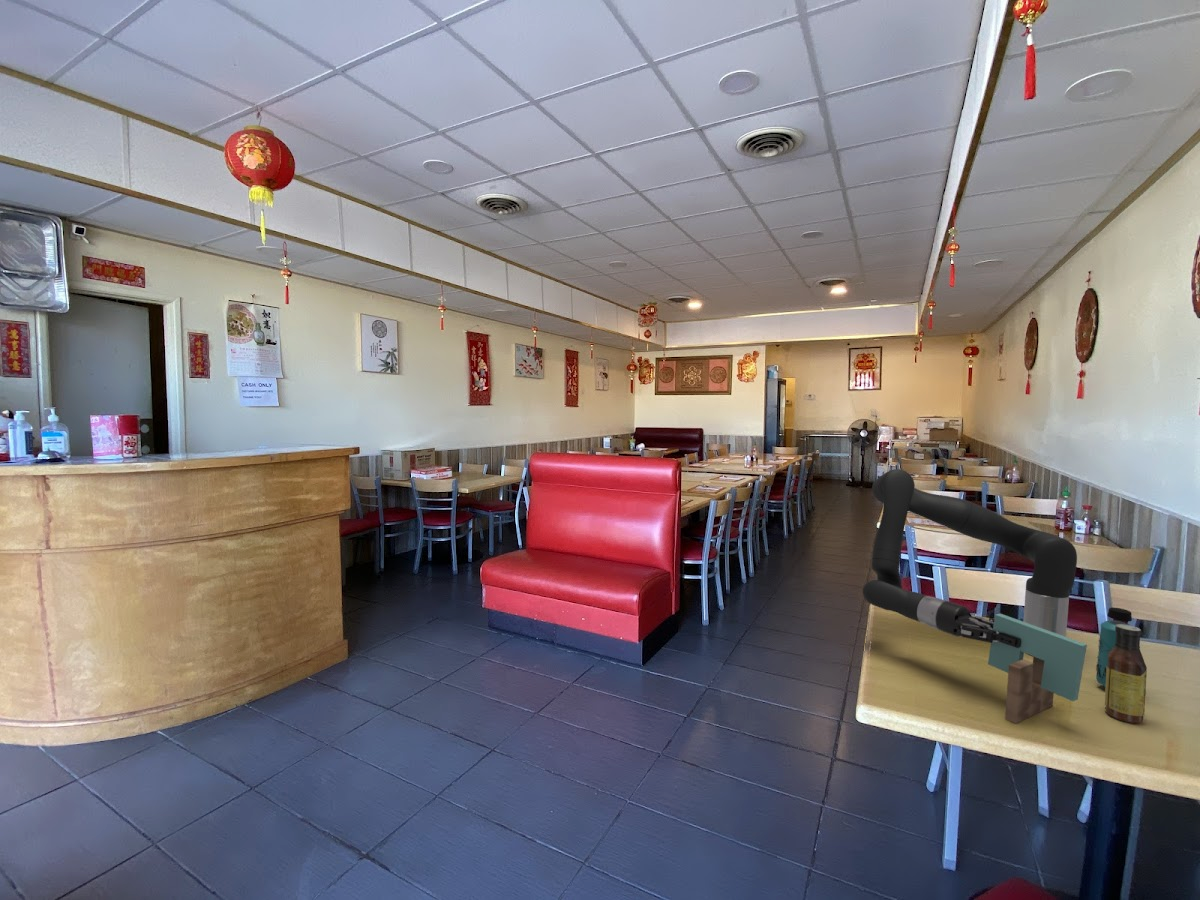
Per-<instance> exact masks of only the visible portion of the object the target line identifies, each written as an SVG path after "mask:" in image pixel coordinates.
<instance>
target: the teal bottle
mask: <svg viewBox="0 0 1200 900" xmlns="http://www.w3.org/2000/svg"><path fill="white" fill-rule="evenodd" d="M1107 617H1109V618H1111V620H1110V619H1109V620H1108V619H1107V620H1105V621H1104V622H1101V624H1100V632H1099V638H1098V646H1097V647H1098V652H1097V654H1098V655H1097V659H1096V660H1097V662H1096V666H1095V669H1096V670H1095V672H1096V674H1095V679H1096V682H1097V683H1098V684H1099V685H1102V686H1103V687H1106V669H1107V665H1108V664H1107V662H1108V653H1109V652H1110V651H1111V649H1113V648H1114V646H1115V642H1116V631H1115V626H1116V625H1117V624H1123V625H1129V626H1132V625H1131V624H1129V623H1126V622H1132V620H1133V619H1132V617H1133V616H1132V612H1131V611H1130V610H1128V609H1124V608H1120V607H1119V608H1118V607H1109V608H1108V612H1107ZM1112 619H1114V620H1112Z"/></svg>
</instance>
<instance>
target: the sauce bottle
mask: <svg viewBox="0 0 1200 900" xmlns="http://www.w3.org/2000/svg"><path fill="white" fill-rule="evenodd" d="M1129 625H1130V624H1129ZM1129 625H1123V624H1117V625H1116V626H1115V631H1116V642H1115V646H1114V648H1113V649H1111V651H1110V652H1109V653H1108V662H1107V664H1108V665H1107V669H1106V686H1105V692H1104V693H1105V695H1104V705H1105V707H1104V709H1105V710H1104V711H1105V712H1106V713H1107V714H1108V715H1109V716H1110V717H1113V718H1115V719H1116V720H1119V721H1122V722H1126V723H1131V724H1141V723H1143V721H1144V716H1145V712H1146V710H1145V709H1146V693H1147V692H1146V691H1147V690H1146V688H1147V673H1148V667H1147V665H1146V663H1145V659H1144V656H1143V654H1142V652H1141V646H1140V644H1141V637H1142V630H1141V629H1140V628H1139V627H1136V626H1133V625H1131V626H1129Z"/></svg>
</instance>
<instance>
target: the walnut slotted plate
mask: <svg viewBox="0 0 1200 900" xmlns="http://www.w3.org/2000/svg"><path fill="white" fill-rule="evenodd" d="M1043 668H1044V660H1041V659H1039V658H1036V657H1034V656H1032V662H1031V661H1029V660H1025V659H1023V660H1020V661H1017V662H1015V663H1012V664H1009V671H1008V673H1007V674H1008V675H1007V687H1006V699H1005V701H1006V702H1005V712H1004V713H1005V714H1004V719H1005V720H1007V721H1009V722H1010V723H1013V724H1018V723H1020V722H1021V721H1024V720H1026V719H1028V718H1030V717H1032V716H1034V715H1037V714H1039V713H1041V712H1044V711H1045V710H1047V708H1048V709H1049V707H1050V708H1052V707H1053V705H1054V696H1055V695H1054V694H1055V693H1053V692H1050V691H1048V690H1046V689H1043V688H1041V687H1040V686H1041V680H1042V674H1043ZM1051 706H1052V707H1051Z"/></svg>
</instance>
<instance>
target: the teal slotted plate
mask: <svg viewBox="0 0 1200 900" xmlns="http://www.w3.org/2000/svg"><path fill="white" fill-rule="evenodd" d="M993 629H996V630H999V631H1000V632H1003V633H1006V634H1009V635H1012V636H1016V637H1019V638H1020V639H1021V647H1019V648H1016V647H1013V646H1010V645H1007V644H1004V643H1002V642H994V641H992V643H990V648H989V655H988V661H987V665H989V666H991V667H994V668H996V669H998V670H1000V671H1003V672H1004V673H1007V674H1008V671H1009V664H1012V663H1015V662H1017V661H1020V660H1024V655H1025V654H1027V655H1028V656H1029V655H1030V656H1032V657H1033V656H1034V657H1036V658H1039V659H1041V660H1044V668H1043V674H1042V680H1041V686H1040V687H1041V688H1043V689H1046V690H1048V691H1050V692H1053V693H1054V694H1055V695H1057V696H1060V697H1062V698H1065V699H1066V700H1069V701H1070V702H1075V701H1077V700H1078V699H1079V694H1080V693H1079V692H1080V688H1081V681H1082V676H1083V670H1084V664H1085V658H1086V653H1087V647H1088V646H1087V645H1088V644H1087V643H1084V642H1081V641H1079V640H1075V639H1074V638H1071V637H1067V636H1066V637H1065V636H1062V635H1059V634H1056V633H1054V632H1051V631H1048V630H1045V629H1042V628H1039V627H1037V626H1034V625H1031V624H1028V623H1025V622H1023V620H1020V619H1016V618H1014V617H1011V616H1009V615H1006V614H1003V613H997V614H994V626H993Z"/></svg>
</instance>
